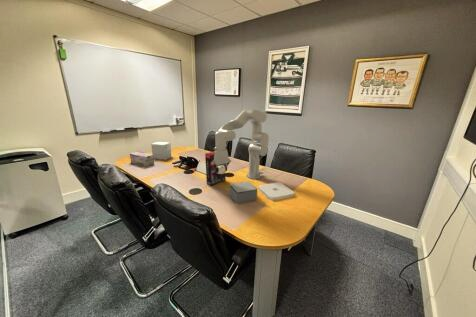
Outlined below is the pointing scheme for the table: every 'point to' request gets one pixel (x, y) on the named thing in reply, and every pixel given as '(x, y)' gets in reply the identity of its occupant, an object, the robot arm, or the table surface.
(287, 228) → the table surface
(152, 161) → the surgical sutures box
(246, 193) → the carton
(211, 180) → the graphics card box
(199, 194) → the table surface
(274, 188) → the computer
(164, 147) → the supplement box
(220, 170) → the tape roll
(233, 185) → the lid
